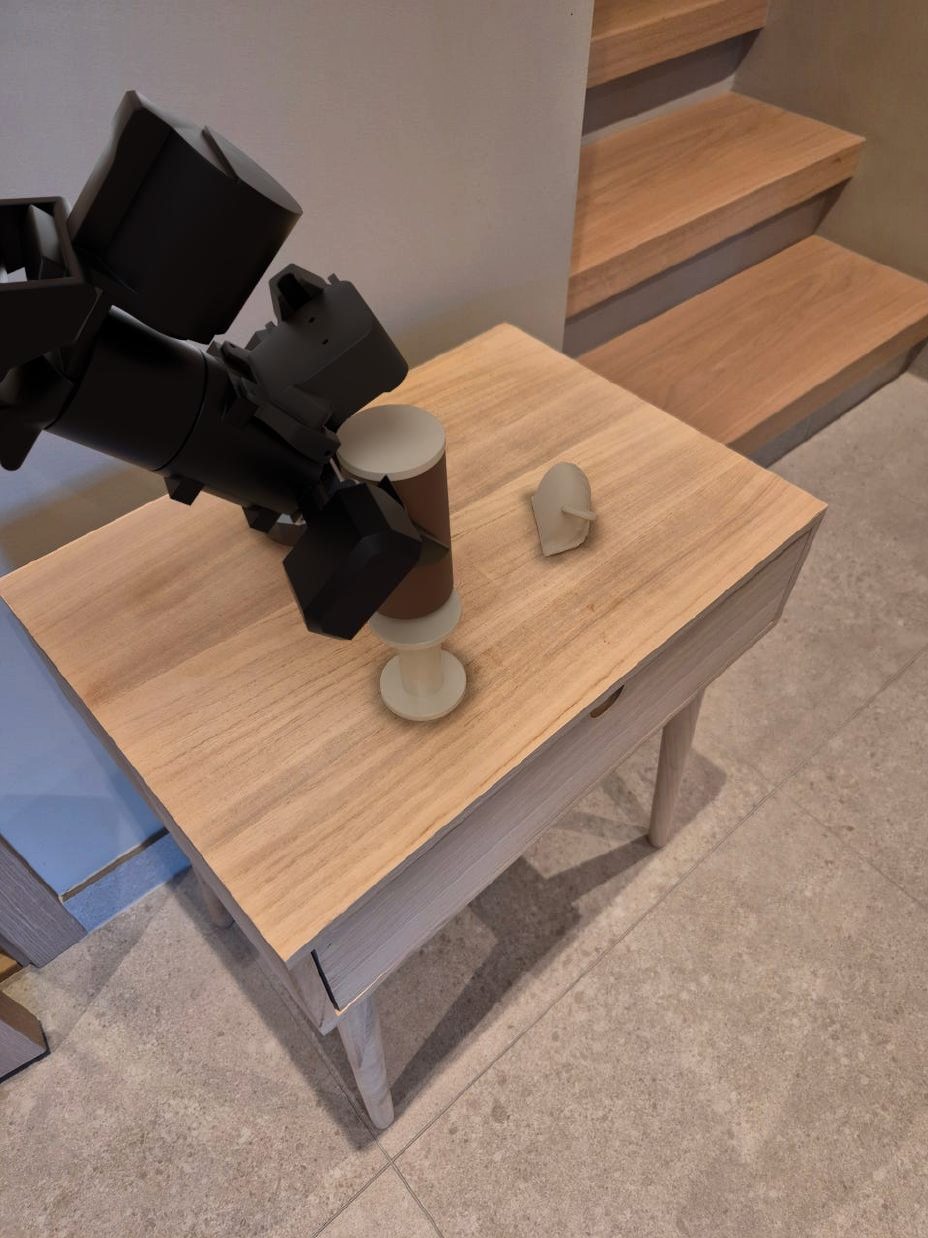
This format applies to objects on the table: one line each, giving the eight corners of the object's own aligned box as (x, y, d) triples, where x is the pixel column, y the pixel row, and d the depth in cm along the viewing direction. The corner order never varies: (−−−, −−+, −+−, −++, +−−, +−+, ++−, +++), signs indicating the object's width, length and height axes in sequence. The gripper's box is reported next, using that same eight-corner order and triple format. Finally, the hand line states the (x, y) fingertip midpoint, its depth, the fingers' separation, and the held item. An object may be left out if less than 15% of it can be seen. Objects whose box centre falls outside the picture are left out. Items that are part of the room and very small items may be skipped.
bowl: (316, 561, 65) (311, 538, 63) (238, 524, 68) (230, 500, 66) (380, 499, 69) (376, 476, 67) (303, 467, 72) (298, 443, 70)
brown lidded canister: (421, 634, 48) (405, 486, 40) (343, 598, 50) (311, 450, 42) (471, 572, 51) (466, 422, 43) (395, 540, 53) (376, 392, 45)
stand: (435, 735, 54) (426, 659, 48) (363, 697, 56) (346, 619, 50) (482, 673, 57) (480, 594, 51) (413, 639, 59) (402, 559, 53)
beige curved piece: (580, 493, 69) (585, 440, 65) (598, 567, 63) (605, 513, 59) (531, 497, 69) (532, 444, 65) (544, 571, 63) (547, 518, 59)
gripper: (344, 370, 28) (605, 519, 39) (219, 166, 39) (448, 326, 50) (176, 603, 32) (455, 679, 43) (107, 358, 43) (341, 467, 54)
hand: (424, 521), depth 48 cm, fingers closed on brown lidded canister, 5 cm apart
